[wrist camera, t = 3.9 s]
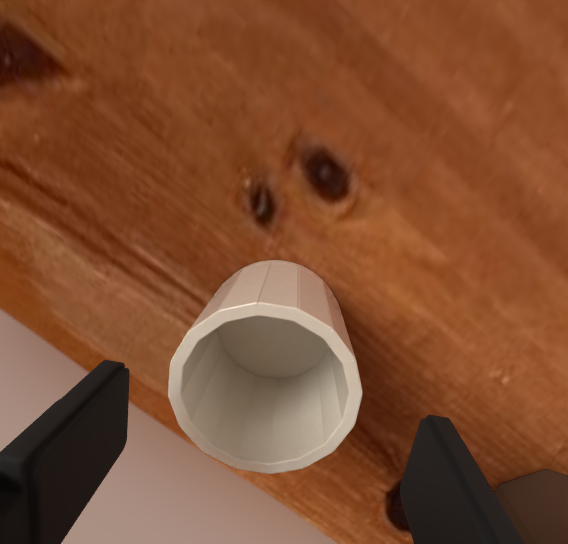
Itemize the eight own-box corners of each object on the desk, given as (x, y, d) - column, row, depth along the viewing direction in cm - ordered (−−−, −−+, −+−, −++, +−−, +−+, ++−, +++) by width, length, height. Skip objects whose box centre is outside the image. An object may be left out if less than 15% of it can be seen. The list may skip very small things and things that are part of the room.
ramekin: (206, 368, 20) (162, 457, 13) (218, 249, 18) (174, 288, 12) (327, 388, 20) (340, 486, 13) (352, 271, 18) (380, 321, 12)
